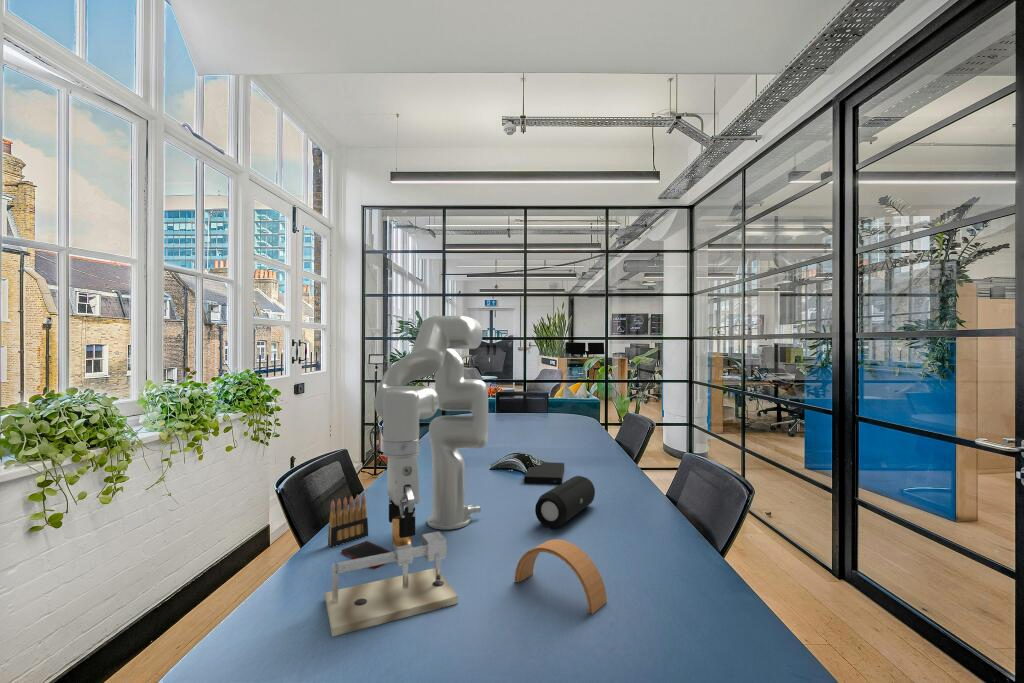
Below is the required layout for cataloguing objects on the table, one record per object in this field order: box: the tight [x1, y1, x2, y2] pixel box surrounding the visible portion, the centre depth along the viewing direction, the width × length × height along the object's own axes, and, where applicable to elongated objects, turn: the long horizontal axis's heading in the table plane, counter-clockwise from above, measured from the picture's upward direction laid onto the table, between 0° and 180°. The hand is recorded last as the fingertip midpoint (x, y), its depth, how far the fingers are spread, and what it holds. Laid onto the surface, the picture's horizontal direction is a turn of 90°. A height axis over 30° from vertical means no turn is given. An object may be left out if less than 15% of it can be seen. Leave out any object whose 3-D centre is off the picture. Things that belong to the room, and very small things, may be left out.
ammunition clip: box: [327, 492, 369, 548], centre depth 129 cm, size 11×2×12 cm, turn 135°
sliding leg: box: [391, 515, 414, 589], centre depth 101 cm, size 4×5×14 cm
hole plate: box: [324, 567, 459, 637], centre depth 98 cm, size 24×14×2 cm, turn 116°
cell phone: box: [341, 540, 391, 570], centre depth 119 cm, size 8×15×1 cm, turn 50°
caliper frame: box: [331, 531, 447, 603], centre depth 100 cm, size 23×6×9 cm, turn 116°
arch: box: [514, 538, 608, 615], centre depth 101 cm, size 6×20×10 cm, turn 48°
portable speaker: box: [534, 475, 596, 529], centre depth 146 cm, size 26×10×10 cm, turn 148°
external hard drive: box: [523, 461, 565, 486], centre depth 191 cm, size 14×23×3 cm, turn 171°
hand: (401, 528), depth 101 cm, fingers open, 9 cm apart
